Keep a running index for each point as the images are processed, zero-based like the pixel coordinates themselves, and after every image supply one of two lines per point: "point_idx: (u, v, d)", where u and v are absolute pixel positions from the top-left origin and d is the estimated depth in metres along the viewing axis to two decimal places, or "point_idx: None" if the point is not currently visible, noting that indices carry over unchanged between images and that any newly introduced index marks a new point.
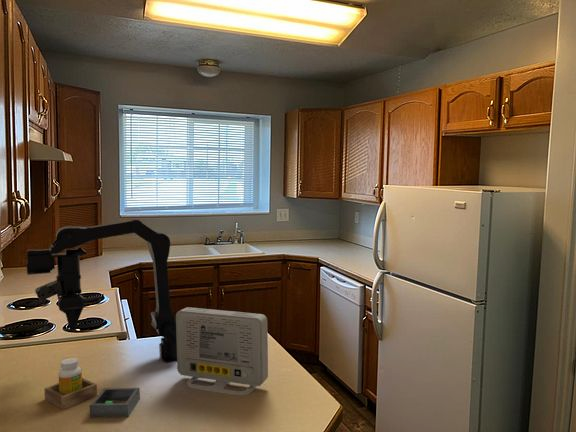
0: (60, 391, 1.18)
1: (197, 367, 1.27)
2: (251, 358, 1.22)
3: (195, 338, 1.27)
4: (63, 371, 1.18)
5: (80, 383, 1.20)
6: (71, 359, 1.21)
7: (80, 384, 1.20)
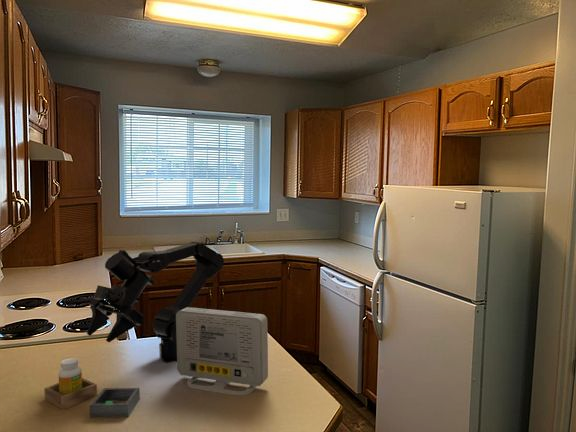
0: (60, 391, 1.18)
1: (197, 367, 1.27)
2: (251, 358, 1.22)
3: (195, 338, 1.27)
4: (63, 371, 1.18)
5: (80, 383, 1.20)
6: (71, 359, 1.21)
7: (80, 384, 1.20)
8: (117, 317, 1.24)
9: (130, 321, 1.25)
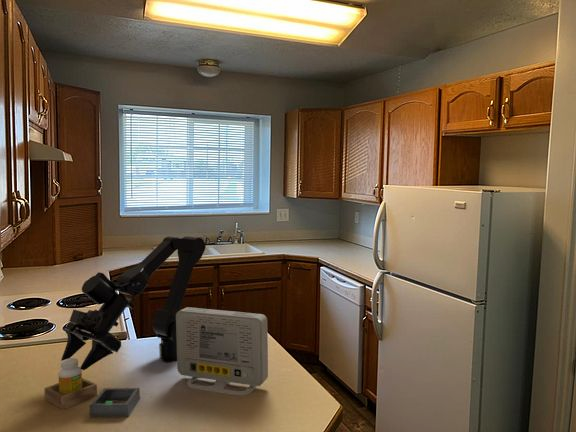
0: (60, 391, 1.18)
1: (197, 367, 1.27)
2: (251, 358, 1.22)
3: (195, 338, 1.27)
4: (63, 371, 1.18)
5: (80, 383, 1.20)
6: (71, 359, 1.21)
7: (80, 384, 1.20)
8: (92, 344, 1.19)
9: (106, 348, 1.19)
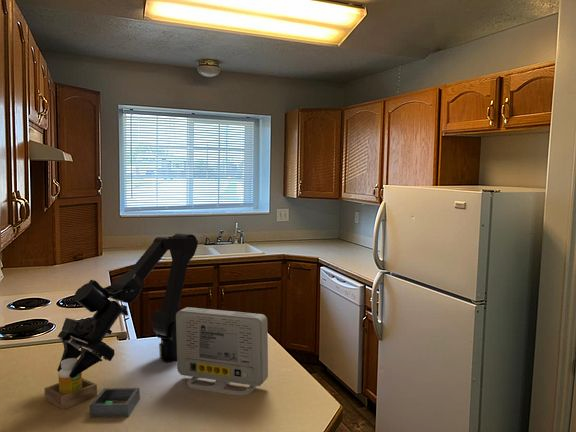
0: (60, 391, 1.18)
1: (197, 367, 1.27)
2: (251, 358, 1.22)
3: (195, 338, 1.27)
4: (63, 371, 1.18)
5: (80, 383, 1.20)
6: (71, 359, 1.21)
7: (80, 384, 1.20)
8: (81, 351, 1.18)
9: (95, 355, 1.19)
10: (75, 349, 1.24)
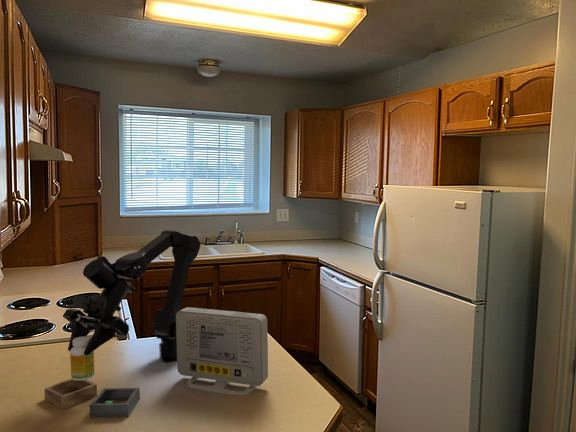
0: (73, 370, 1.15)
1: (197, 367, 1.27)
2: (251, 358, 1.22)
3: (195, 338, 1.27)
4: (76, 349, 1.15)
5: (93, 361, 1.17)
6: (82, 337, 1.18)
7: (93, 362, 1.17)
8: (95, 328, 1.16)
9: (110, 331, 1.17)
10: (83, 328, 1.21)
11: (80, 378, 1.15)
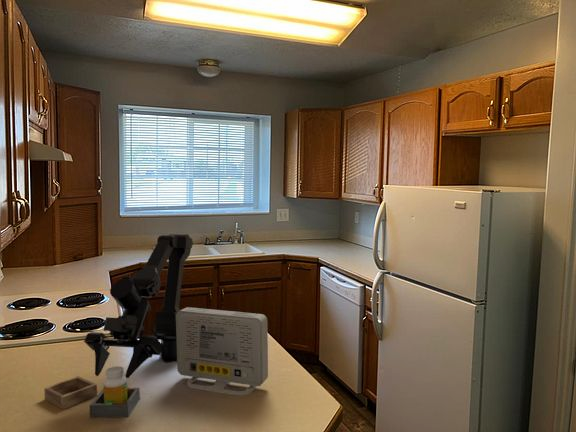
0: None
1: (197, 367, 1.27)
2: (251, 358, 1.22)
3: (195, 338, 1.27)
4: (112, 380, 1.12)
5: None
6: (114, 367, 1.15)
7: None
8: (135, 349, 1.14)
9: (148, 351, 1.16)
10: (105, 350, 1.18)
11: None
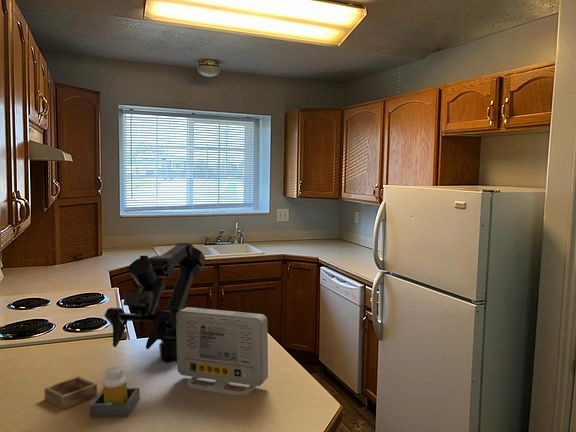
0: None
1: (197, 367, 1.27)
2: (251, 358, 1.22)
3: (195, 338, 1.27)
4: (112, 380, 1.12)
5: None
6: (114, 367, 1.15)
7: None
8: (154, 322, 1.23)
9: (166, 325, 1.25)
10: (121, 324, 1.27)
11: None
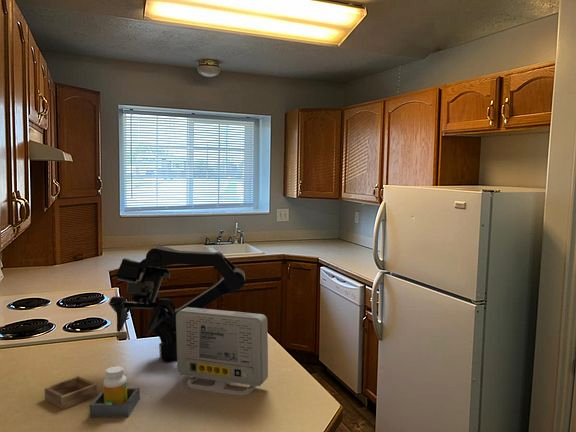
0: None
1: (197, 367, 1.27)
2: (251, 358, 1.22)
3: (195, 338, 1.27)
4: (112, 380, 1.12)
5: None
6: (114, 367, 1.15)
7: None
8: (154, 309, 1.34)
9: (166, 312, 1.36)
10: (125, 311, 1.38)
11: None
